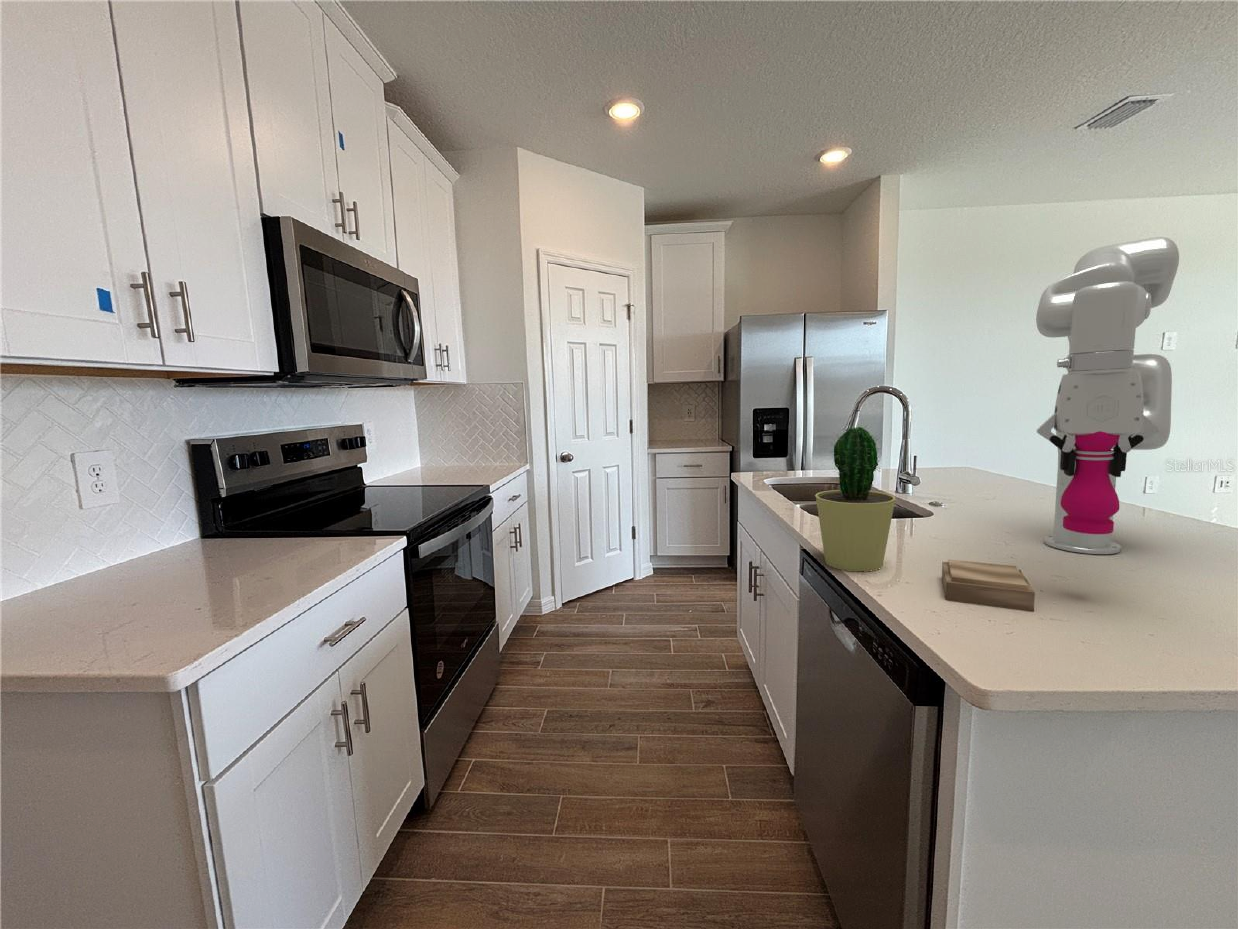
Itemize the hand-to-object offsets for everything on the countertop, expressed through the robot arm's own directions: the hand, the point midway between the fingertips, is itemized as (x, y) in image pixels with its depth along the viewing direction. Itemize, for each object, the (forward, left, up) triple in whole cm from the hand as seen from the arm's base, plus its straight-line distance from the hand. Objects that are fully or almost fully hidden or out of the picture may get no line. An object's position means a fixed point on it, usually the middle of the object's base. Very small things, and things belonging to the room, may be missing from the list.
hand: (1091, 474), depth 83 cm
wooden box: (+4, -14, -22) cm, 26 cm away
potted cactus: (-5, -36, -22) cm, 43 cm away
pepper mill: (0, 0, -10) cm, 10 cm away
